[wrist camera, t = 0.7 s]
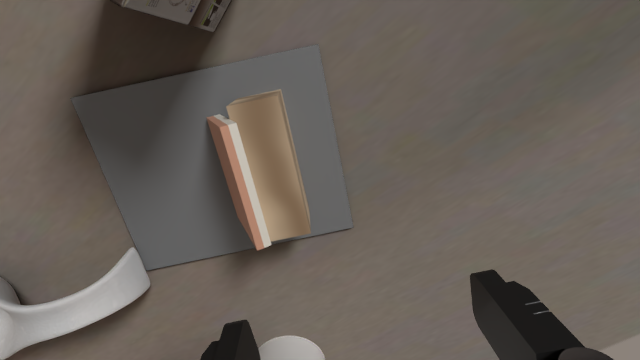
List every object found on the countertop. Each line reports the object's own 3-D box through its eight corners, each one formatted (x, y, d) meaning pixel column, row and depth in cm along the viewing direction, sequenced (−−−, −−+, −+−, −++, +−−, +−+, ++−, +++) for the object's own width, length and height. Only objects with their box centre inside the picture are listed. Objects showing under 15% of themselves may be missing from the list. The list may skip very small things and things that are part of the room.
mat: (148, 268, 37) (146, 270, 37) (73, 97, 31) (70, 98, 31) (352, 225, 37) (353, 227, 36) (317, 44, 31) (318, 44, 30)
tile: (238, 215, 35) (223, 257, 28) (207, 116, 32) (180, 135, 24) (276, 206, 35) (271, 247, 28) (249, 107, 32) (235, 123, 24)
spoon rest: (-39, 347, 39) (-110, 409, 33) (-104, 258, 35) (-201, 307, 29) (165, 306, 38) (135, 360, 32) (122, 210, 34) (77, 248, 28)
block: (270, 217, 36) (265, 242, 31) (237, 98, 31) (226, 106, 27) (309, 209, 35) (310, 233, 31) (280, 89, 31) (277, 95, 27)
